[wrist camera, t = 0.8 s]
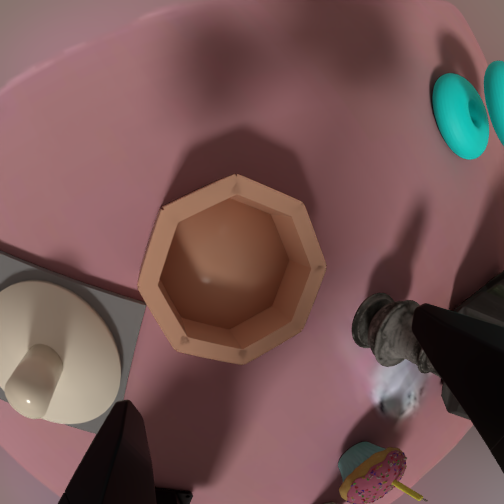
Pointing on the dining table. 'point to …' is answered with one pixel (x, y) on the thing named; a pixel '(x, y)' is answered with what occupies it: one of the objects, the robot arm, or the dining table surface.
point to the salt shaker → (389, 331)
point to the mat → (104, 302)
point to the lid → (55, 354)
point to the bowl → (231, 270)
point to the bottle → (483, 308)
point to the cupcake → (372, 473)
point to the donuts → (469, 111)
